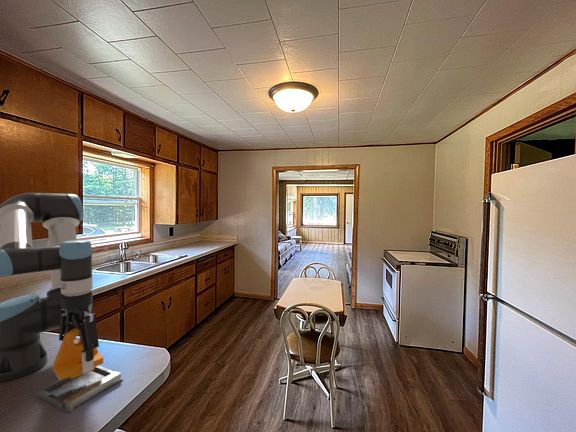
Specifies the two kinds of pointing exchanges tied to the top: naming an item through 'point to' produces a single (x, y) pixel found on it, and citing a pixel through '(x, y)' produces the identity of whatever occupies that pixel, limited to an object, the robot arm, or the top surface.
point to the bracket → (72, 357)
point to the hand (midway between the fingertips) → (79, 367)
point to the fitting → (79, 388)
